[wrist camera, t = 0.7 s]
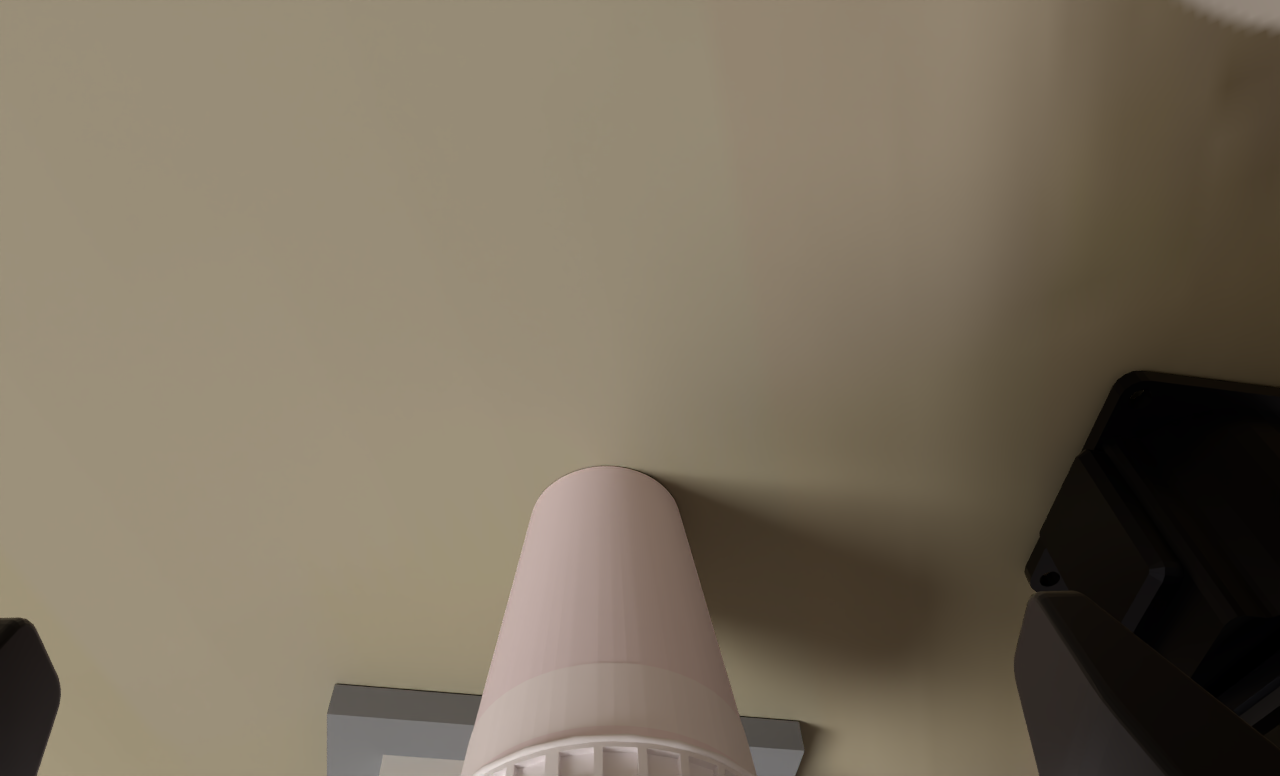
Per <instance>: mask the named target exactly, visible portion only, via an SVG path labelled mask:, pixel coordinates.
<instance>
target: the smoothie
mask: <svg viewBox="0 0 1280 776" xmlns="http://www.w3.org/2000/svg"><path fill="white" fill-rule="evenodd" d="M461 776H757V774H756V770H755V767H754V763H753V759H752V756H751V752H750V748H749V745H748V741H747V737H746V734H745V731H744V728H743V726H742V723H741V719H740V716H739V713H738V709H737V706H736V702H735V699H734V696H733V692H732V689H731V685H730V682H729V679H728V675H727V672H726V668H725V665H724V662H723V658H722V655H721V651H720V648H719V645H718V641H717V638H716V634H715V631H714V628H713V624H712V621H711V618H710V614H709V611H708V607H707V604H706V601H705V597H704V594H703V590H702V587H701V584H700V580H699V577H698V573H697V570H696V567H695V563H694V560H693V556H692V553H691V550H690V546H689V543H688V539H687V536H686V533H685V529H684V526H683V522H682V519H681V516H680V512H679V509H678V506H677V504H676V502H675V500H674V498H673V497H672V496H671V494H670V493H669V492H668V491H667V489H666V488H665V487H663V486H662V485H661V484H660V483H659V482H657V481H656V480H654V479H653V478H651V477H649V476H647V475H645V474H643V473H641V472H638V471H635V470H632V469H627V468H623V467H615V466H599V467H591V468H585V469H581V470H578V471H575V472H572V473H570V474H568V475H565V476H563V477H562V478H560V479H558V480H557V481H555V482H554V483H552V484H551V485H550V486H549V487H548V488H547V489H546V490H545V491H544V492H543V493H542V494H541V496H540V497H539V499H538V500H537V502H536V504H535V506H534V508H533V511H532V515H531V519H530V522H529V526H528V530H527V533H526V537H525V541H524V544H523V548H522V552H521V555H520V559H519V563H518V566H517V570H516V574H515V577H514V581H513V585H512V588H511V592H510V596H509V599H508V603H507V607H506V611H505V614H504V618H503V622H502V625H501V629H500V633H499V636H498V640H497V644H496V647H495V651H494V655H493V658H492V662H491V666H490V669H489V673H488V677H487V680H486V684H485V688H484V691H483V695H482V699H481V703H480V706H479V710H478V714H477V717H476V721H475V725H474V728H473V732H472V734H471V737H470V740H469V744H468V748H467V752H466V756H465V760H464V764H463V768H462V772H461Z"/></svg>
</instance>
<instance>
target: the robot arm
mask: <svg viewBox="0 0 1280 776" xmlns="http://www.w3.org/2000/svg"><path fill="white" fill-rule="evenodd" d="M1139 390H1144V391H1143V392H1142V393H1141V395H1140V396H1138V397H1136V398H1132V399H1130V397H1131V396H1132V395H1133V394H1134V393H1135V392H1137V391H1139ZM1047 572H1051V573H1049V574H1047V575H1043V574H1045V573H1047ZM1025 575H1026V578H1027V580H1028V582H1029V584H1030V586H1031V588H1032V589H1033V590H1035V591H1036V592H1037V593H1034V594H1033V595H1032V596H1031V597H1030V599H1029V601H1028V604H1027V607H1026V611H1025V615H1024V619H1023V623H1022V627H1021V631H1020V635H1019V639H1018V643H1017V647H1016V652H1015V657H1014V672H1015V680H1016V684H1017V688H1018V692H1019V696H1020V700H1021V704H1022V708H1023V712H1024V716H1025V720H1026V724H1027V728H1028V732H1029V736H1030V740H1031V744H1032V748H1033V752H1034V756H1035V760H1036V764H1037V768H1038V772H1039V776H1280V388H1274V387H1266V386H1258V385H1250V384H1242V383H1234V382H1226V381H1218V380H1210V379H1202V378H1195V377H1187V376H1179V375H1171V374H1163V373H1155V372H1147V371H1133V372H1131V373H1128V374H1125V375H1124V376H1122V377H1121V378H1120V379H1118V380H1117V381H1116V383H1115V384H1114V386H1113V387H1112V389H1111V391H1110V393H1109V395H1108V397H1107V399H1106V401H1105V403H1104V406H1103V408H1102V410H1101V412H1100V414H1099V416H1098V418H1097V420H1096V422H1095V424H1094V426H1093V428H1092V430H1091V432H1090V434H1089V437H1088V439H1087V441H1086V443H1085V445H1084V447H1083V449H1082V451H1081V453H1080V454H1079V455H1078V456H1077V457H1076V458H1075V460H1074V462H1073V464H1072V466H1071V468H1070V470H1069V472H1068V475H1067V477H1066V479H1065V481H1064V483H1063V485H1062V487H1061V489H1060V491H1059V493H1058V495H1057V497H1056V499H1055V501H1054V504H1053V506H1052V508H1051V510H1050V512H1049V514H1048V516H1047V518H1046V520H1045V522H1044V524H1043V526H1042V528H1041V531H1040V538H1039V540H1038V542H1037V544H1036V546H1035V548H1034V550H1033V552H1032V554H1031V556H1030V558H1029V561H1028V563H1027V565H1026V567H1025ZM60 697H61V688H60V682H59V678H58V675H57V673H56V671H55V669H54V667H53V665H52V662H51V660H50V658H49V656H48V654H47V652H46V649H45V647H44V645H43V643H42V641H41V639H40V636H39V634H38V632H37V630H36V628H35V626H34V625H33V624H32V623H31V622H29V621H28V620H27V619H23V618H0V776H37V773H38V770H39V767H40V764H41V761H42V757H43V754H44V751H45V748H46V745H47V742H48V739H49V736H50V733H51V730H52V727H53V724H54V720H55V717H56V714H57V711H58V708H59V704H60Z"/></svg>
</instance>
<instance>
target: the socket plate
mask: <svg viewBox="0 0 1280 776" xmlns="http://www.w3.org/2000/svg"><path fill="white" fill-rule="evenodd" d="M481 699H482V696H475V695H462V694H450V693H438V692H425V691H413V690H400V689H388V688H375V687H363V686H350V685H338V684H335V686H334V690H333V693H332V697H331V701H330V705H329V708H328V712H327V776H461V772H462V768H463V764H464V760H465V756H466V752H467V748H468V744H469V740H470V737H471V734H472V732H473V728H474V725H475V721H476V717H477V714H478V710H479V706H480V703H481ZM740 719H741V723H742V726H743V728H744V731H745V734H746V737H747V741H748V745H749V748H750V752H751V756H752V759H753V763H754V767H755V770H756V774H757V776H795V775H796V772H797V770H798V767H799V764H800V762H801V759H802V756H803V754H804V751H805V750H804V745H803V740H802V735H801V730H800V725H799V722H798V721H786V720H773V719H761V718H748V717H740Z"/></svg>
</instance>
